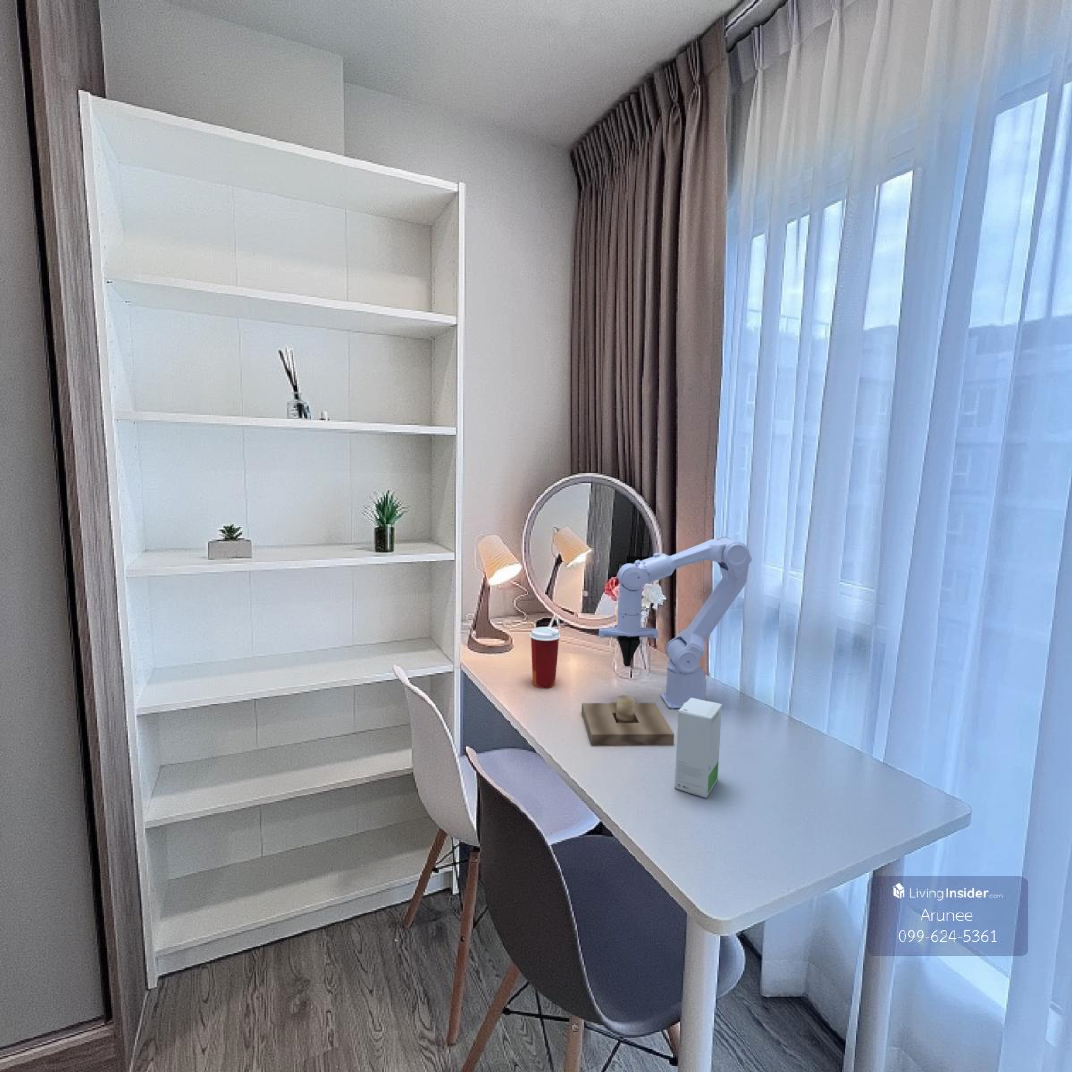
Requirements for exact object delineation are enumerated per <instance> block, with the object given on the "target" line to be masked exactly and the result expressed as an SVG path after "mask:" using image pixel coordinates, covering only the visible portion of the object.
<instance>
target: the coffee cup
mask: <svg viewBox="0 0 1072 1072" xmlns="http://www.w3.org/2000/svg"><path fill="white" fill-rule="evenodd" d="M529 637H530V644H531V645H530V646H531V672H532V685H533V686H534V687H536V688H538V689H550V687H551V688H554V686H555V684H556V676H557V668H558V667H557V665H558V654H559V653H558V652H559V643H560V638H561V634H560V631H559V630H558V629H557V628H554V627H551V626H550V627H549V626H538V627H534V628H533V629H532V630H531V632H530V634H529Z"/></svg>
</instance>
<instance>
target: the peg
mask: <svg viewBox="0 0 1072 1072" xmlns="http://www.w3.org/2000/svg"><path fill="white" fill-rule="evenodd" d="M635 701H636V700H635V698H634V697H632V696H630V695H626V694H625V695H618V696H617V697H616V703H617V708H616V723H634V703H636V702H635Z"/></svg>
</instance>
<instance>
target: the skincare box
mask: <svg viewBox="0 0 1072 1072" xmlns="http://www.w3.org/2000/svg"><path fill="white" fill-rule="evenodd" d="M722 707H723V704H722V703H719V702H713V701H709V700H705V701H704V700H700V699H695V698H690V699H689V700H688V701H687V702H685V703H684V704H683V706H682V707H681V708H678V712H677V731H676V732H677V733H676V735H677V736H676V753H675V754H676V755H675V759H676V760H675V776H674V777H675V778H674V789H677V790H679V791H683V792H684V793H685V792H686V793H688V794H692V795H694V796H697V797H702V798H706V799H707V798H708V797H709V794H710V793H711V792H712V790H713V788H714V786H715V785H716V783H717V781H718V777H719V762H720V761H719V760H720V745H721V744H720V742H721V740H720V739H721V726H722V723H721V722H722Z"/></svg>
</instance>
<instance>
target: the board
mask: <svg viewBox="0 0 1072 1072" xmlns="http://www.w3.org/2000/svg"><path fill="white" fill-rule="evenodd" d="M616 708H617V702H581V715H582V716H581V717H582V719H583V722H584V725H585V730H586V732H587V736H588V739H589V742H590V746H592V747H593V746H674V741H675V734H674V731H673V730H672V728H671V727H670V724H668V722H667V720H666V718H665V717H664V715H663V713H662V711H661V710H660V708H659V707H658V705H657V703H656V702H634V723H616Z"/></svg>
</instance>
